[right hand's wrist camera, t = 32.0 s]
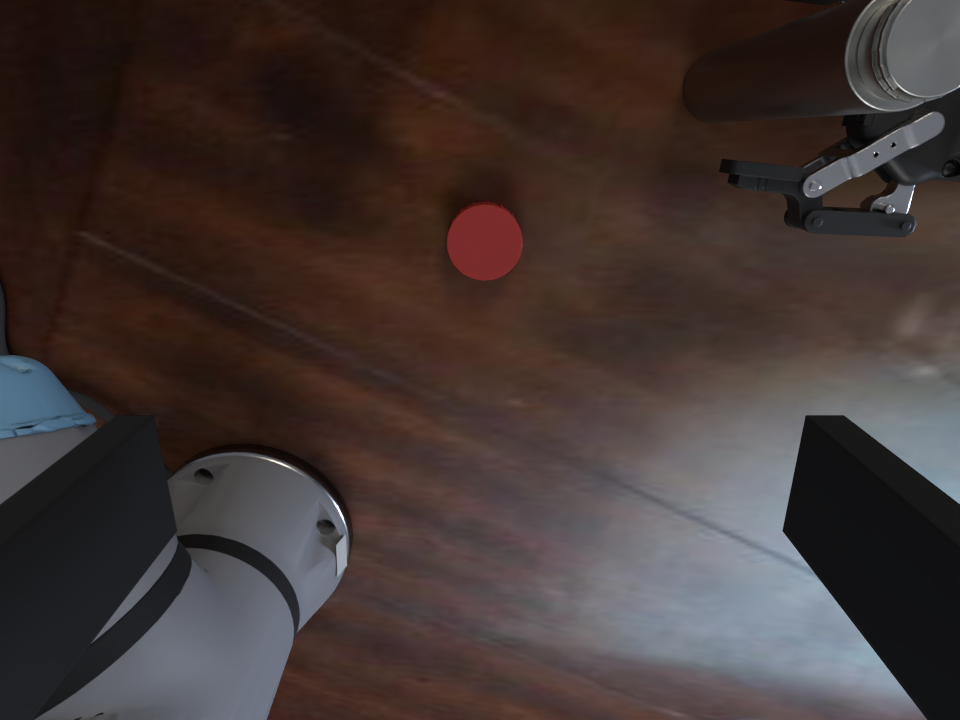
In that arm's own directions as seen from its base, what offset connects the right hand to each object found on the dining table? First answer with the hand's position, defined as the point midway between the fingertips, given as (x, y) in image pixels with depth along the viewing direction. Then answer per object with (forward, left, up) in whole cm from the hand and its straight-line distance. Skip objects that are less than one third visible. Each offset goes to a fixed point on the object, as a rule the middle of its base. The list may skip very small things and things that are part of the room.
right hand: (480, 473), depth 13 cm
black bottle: (+9, +15, -30) cm, 34 cm away
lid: (0, 0, -28) cm, 28 cm away
